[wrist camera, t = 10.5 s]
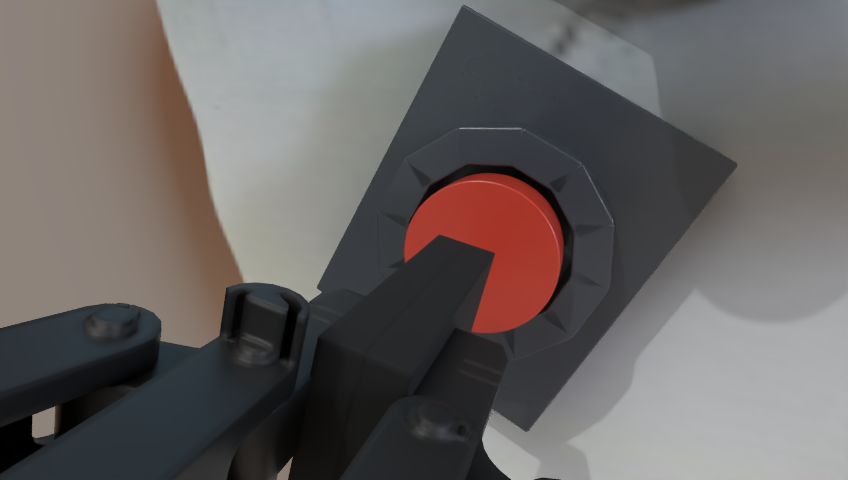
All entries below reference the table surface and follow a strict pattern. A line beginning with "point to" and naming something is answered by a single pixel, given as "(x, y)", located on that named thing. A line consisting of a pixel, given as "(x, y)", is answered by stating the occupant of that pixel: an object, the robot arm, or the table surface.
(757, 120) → the table surface
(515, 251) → the button
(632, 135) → the button box
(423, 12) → the table surface
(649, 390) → the table surface
